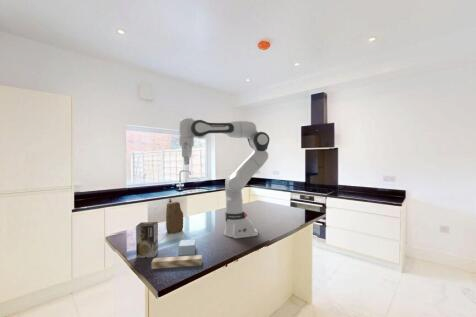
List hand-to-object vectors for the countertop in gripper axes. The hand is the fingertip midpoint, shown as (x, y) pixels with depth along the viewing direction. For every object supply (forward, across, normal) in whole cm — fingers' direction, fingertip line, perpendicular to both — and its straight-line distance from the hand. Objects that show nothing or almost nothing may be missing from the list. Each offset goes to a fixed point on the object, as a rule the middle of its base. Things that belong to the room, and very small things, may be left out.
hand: (186, 164), depth 135 cm
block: (+46, +11, +10) cm, 48 cm away
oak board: (+46, -37, 0) cm, 59 cm away
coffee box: (+46, -24, +18) cm, 55 cm away
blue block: (+46, -23, -2) cm, 52 cm away
